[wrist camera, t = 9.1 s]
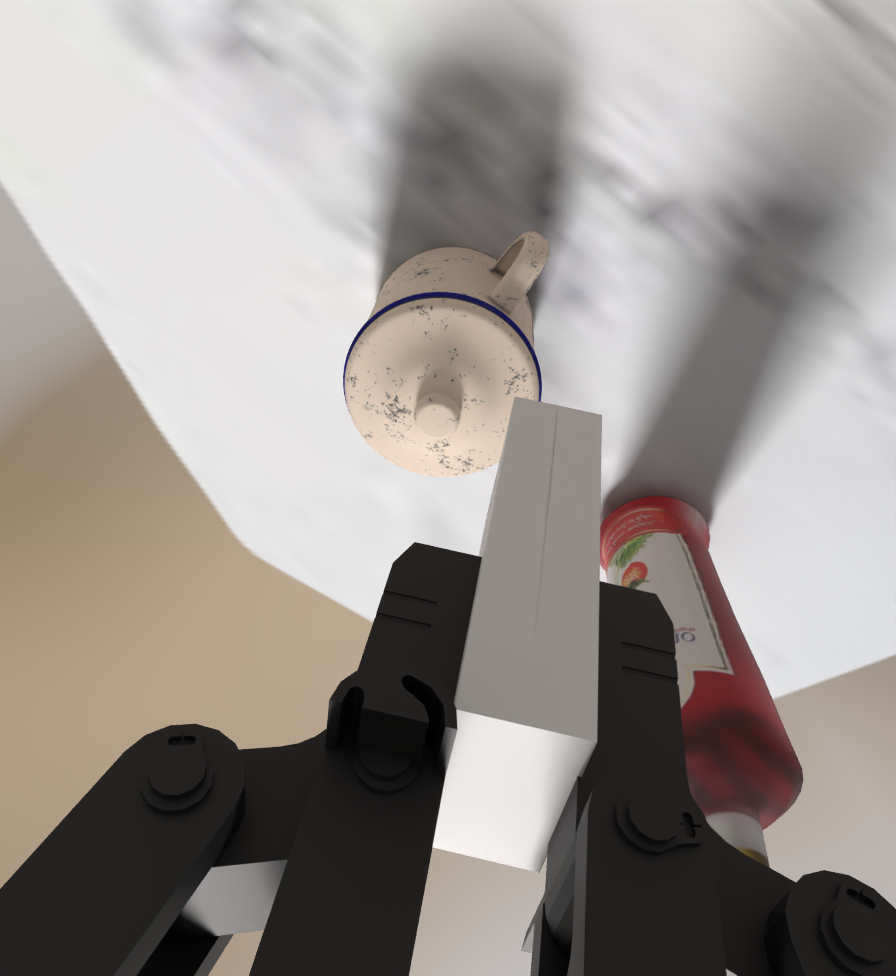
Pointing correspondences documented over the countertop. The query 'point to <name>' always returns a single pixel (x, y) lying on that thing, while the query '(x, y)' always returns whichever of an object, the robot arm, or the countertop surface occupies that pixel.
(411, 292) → the teacup with lid
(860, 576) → the countertop surface
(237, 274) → the countertop surface
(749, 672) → the liquor
